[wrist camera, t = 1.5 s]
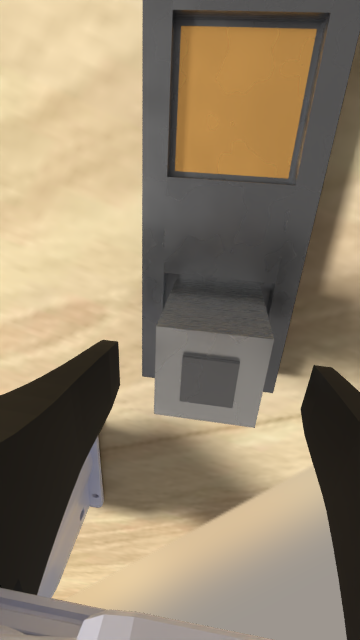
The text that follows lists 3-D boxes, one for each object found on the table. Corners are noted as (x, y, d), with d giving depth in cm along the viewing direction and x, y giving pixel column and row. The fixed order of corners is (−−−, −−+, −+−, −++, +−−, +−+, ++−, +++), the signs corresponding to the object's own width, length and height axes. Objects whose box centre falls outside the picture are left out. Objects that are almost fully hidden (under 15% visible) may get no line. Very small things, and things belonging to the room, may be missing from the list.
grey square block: (247, 357, 17) (255, 431, 12) (172, 348, 17) (153, 417, 13) (260, 286, 15) (274, 342, 10) (176, 278, 15) (155, 329, 11)
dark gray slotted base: (269, 372, 18) (273, 393, 17) (149, 358, 19) (142, 376, 17) (353, -5, 11) (374, -33, 9) (154, -7, 12) (142, -33, 10)
